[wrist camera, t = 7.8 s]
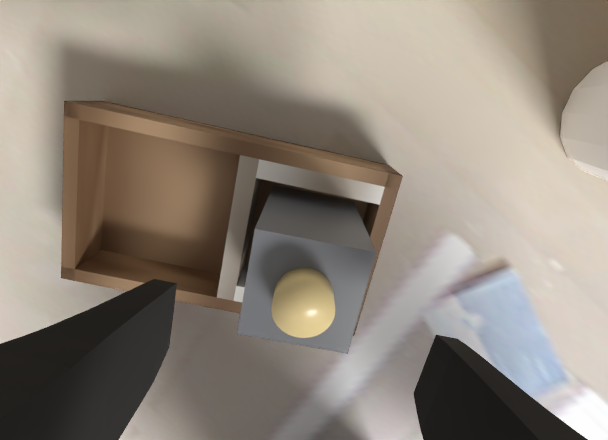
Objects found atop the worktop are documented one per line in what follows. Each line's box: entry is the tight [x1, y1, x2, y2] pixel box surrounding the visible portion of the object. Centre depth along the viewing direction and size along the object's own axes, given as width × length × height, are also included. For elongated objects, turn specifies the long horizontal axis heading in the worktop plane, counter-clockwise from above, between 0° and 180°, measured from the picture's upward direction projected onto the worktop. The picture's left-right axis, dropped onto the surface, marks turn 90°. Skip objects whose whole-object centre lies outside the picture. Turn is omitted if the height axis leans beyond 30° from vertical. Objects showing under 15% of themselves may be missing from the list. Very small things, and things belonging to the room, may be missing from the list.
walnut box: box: [61, 101, 403, 336], centre depth 18 cm, size 14×8×3 cm, turn 78°
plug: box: [237, 185, 376, 354], centre depth 15 cm, size 4×4×8 cm
